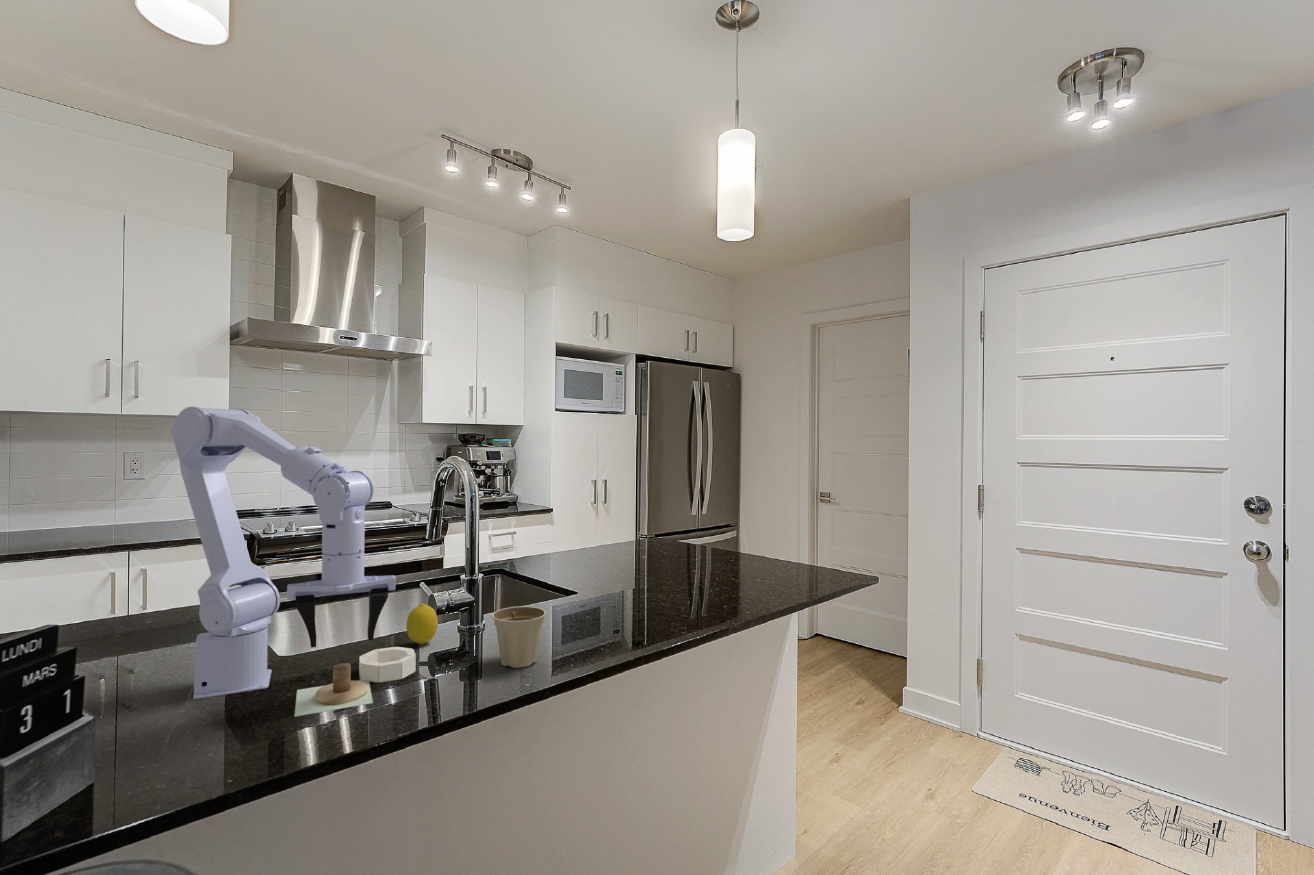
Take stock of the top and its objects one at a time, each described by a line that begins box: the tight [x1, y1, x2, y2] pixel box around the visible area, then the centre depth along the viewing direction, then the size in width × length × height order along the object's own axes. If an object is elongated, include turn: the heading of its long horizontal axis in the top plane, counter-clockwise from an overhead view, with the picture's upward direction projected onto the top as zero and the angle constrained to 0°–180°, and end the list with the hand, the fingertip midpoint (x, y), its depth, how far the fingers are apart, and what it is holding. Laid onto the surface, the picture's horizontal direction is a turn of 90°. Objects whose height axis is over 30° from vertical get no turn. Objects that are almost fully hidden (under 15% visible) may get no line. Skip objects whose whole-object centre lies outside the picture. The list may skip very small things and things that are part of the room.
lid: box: [315, 662, 367, 705], centre depth 95 cm, size 7×7×4 cm
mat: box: [294, 679, 374, 718], centre depth 94 cm, size 10×10×1 cm
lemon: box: [406, 602, 439, 646], centre depth 118 cm, size 6×6×8 cm
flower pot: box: [491, 605, 547, 669], centre depth 110 cm, size 9×9×9 cm
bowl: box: [358, 646, 417, 683], centre depth 104 cm, size 8×8×3 cm
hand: (342, 641), depth 94 cm, fingers open, 7 cm apart
